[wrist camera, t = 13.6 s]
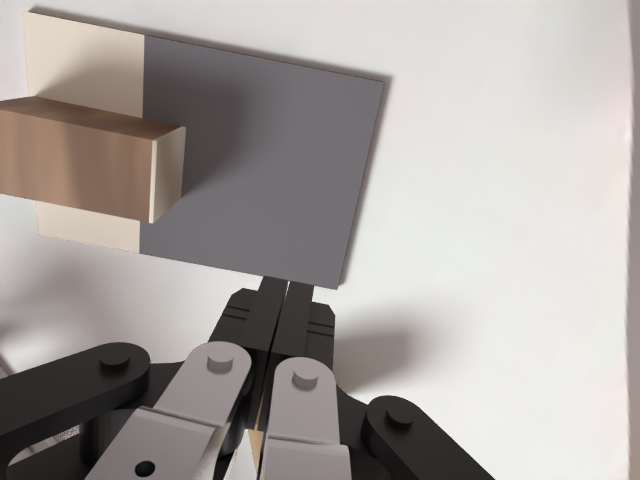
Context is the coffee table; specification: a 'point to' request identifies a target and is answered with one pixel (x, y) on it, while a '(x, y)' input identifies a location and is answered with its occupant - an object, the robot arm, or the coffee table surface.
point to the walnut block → (90, 158)
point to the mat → (218, 148)
